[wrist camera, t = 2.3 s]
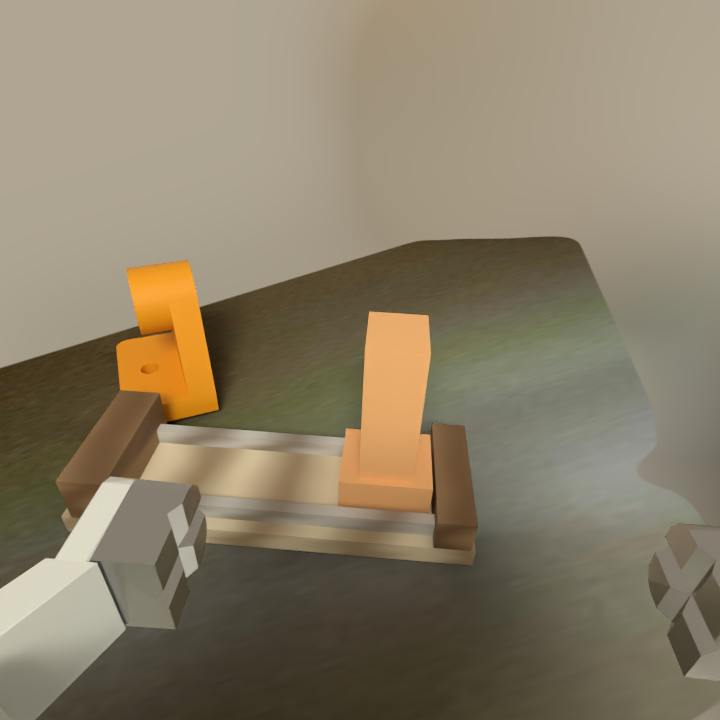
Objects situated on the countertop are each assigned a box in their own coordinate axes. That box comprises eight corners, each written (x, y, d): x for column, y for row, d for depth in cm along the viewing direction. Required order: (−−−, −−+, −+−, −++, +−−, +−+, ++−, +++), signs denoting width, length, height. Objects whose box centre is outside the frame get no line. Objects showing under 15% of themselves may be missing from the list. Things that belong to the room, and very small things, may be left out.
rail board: (67, 531, 35) (44, 480, 32) (126, 437, 42) (111, 389, 40) (472, 565, 34) (485, 516, 31) (460, 463, 41) (470, 416, 38)
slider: (338, 512, 35) (340, 352, 28) (345, 458, 39) (349, 306, 32) (427, 519, 35) (455, 360, 27) (425, 464, 39) (448, 312, 31)
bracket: (122, 365, 51) (89, 248, 44) (199, 350, 53) (179, 238, 46) (130, 438, 43) (91, 310, 36) (220, 417, 45) (200, 293, 38)
